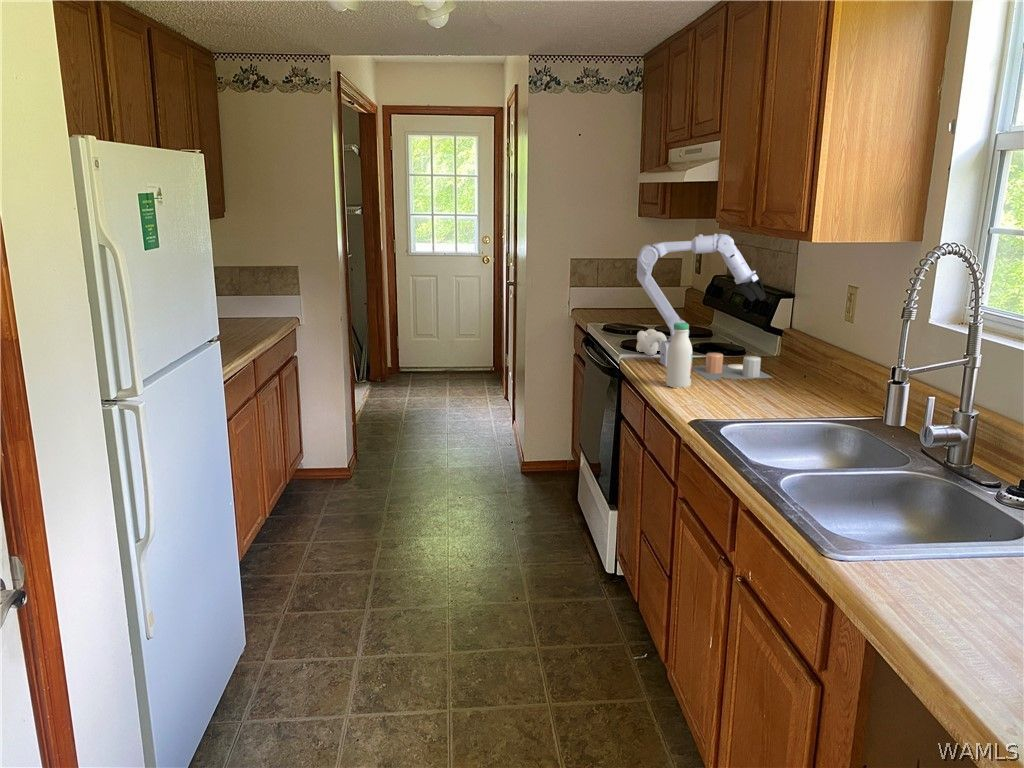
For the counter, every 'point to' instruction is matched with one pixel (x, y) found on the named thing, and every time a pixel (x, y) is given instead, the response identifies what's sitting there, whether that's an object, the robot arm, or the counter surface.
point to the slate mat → (727, 372)
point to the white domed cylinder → (751, 366)
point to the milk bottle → (679, 358)
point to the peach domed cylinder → (714, 363)
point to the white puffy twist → (650, 341)
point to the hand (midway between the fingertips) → (758, 299)
